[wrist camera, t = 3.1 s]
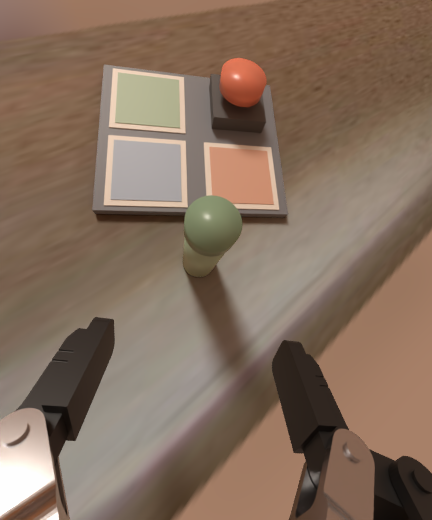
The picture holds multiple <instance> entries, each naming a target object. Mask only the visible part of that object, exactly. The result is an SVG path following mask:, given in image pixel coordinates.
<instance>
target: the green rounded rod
mask: <svg viewBox="0 0 432 520" xmlns="http://www.w3.org/2000/svg"><path fill="white" fill-rule="evenodd" d="M241 231H242V218H241V215H240V213H239V211H238V209H237V208H236V207H235V206H234V204H233V203H231V202H230V201H228V200H227V199H225V198H223V197H220V196H213V195H209V196H204V197H201V198H198V199H197V200H195V201H194V202H193V203H192V204H191V205H190V206H189V207H188V209H187V211H186V214H185V220H184V236H185V240H184V251H183V266H184V269H185V270H186V272H187V273H188V274H190V275H192V276H194V277H204V276H206V275H208V274H209V273H210V272H211V271H212V269H213V268H214V267H215V265H216V264H217V263H218V262H219V260H220V259H221V258H222V256H223V255H224V254H225V252H227V251H228V250H229V249H230V248H231V247H232V246H233V244H234V243H235V242H236V240H237V239H238V238H239V236H240V234H241Z"/></svg>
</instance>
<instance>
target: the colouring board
mask: <svg viewBox="0 0 432 520" xmlns="http://www.w3.org/2000/svg"><path fill="white" fill-rule="evenodd" d="M220 77H221V75H216V74H211V77H210V78H205V77H198V76H190V75H182V74H174V73H166V72H158V71H150V70H142V69H135V68H127V67H119V66H111V65H104V70H103V83H102V96H101V108H100V121H99V133H98V146H97V158H96V171H95V184H94V196H93V209H92V210H93V211H94V213H95V214H134V215H185V214H186V211H187V209H188V207H189V206H190V205H191V204H192V203H193V202H194V201H195V200H197V199H198V198H201V197H204V196H209V195H213V196H220V197H223V198H225V199H227V200H228V201H230V202H231V203H233V204H234V206H235V207H236V208H237V209H238V211H239V213H240V215H241V217H286V216H287V215H288V211H287V204H286V197H285V190H284V183H283V176H282V168H281V161H280V154H279V147H278V140H277V133H276V126H275V119H274V112H273V105H272V98H271V90H270V86H268V85H266V86H265V89H264V91H263V94H262V96H261V99H260V101H259V102H258V103H257V104H255V105H254V106H251V107H239V106H236V105H234V104H232V103H230V102H228V101H227V100H226V99H225V98H224V97H223V95H222V94H221V92H220V89H219V83H220Z"/></svg>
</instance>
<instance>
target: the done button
mask: <svg viewBox="0 0 432 520" xmlns="http://www.w3.org/2000/svg"><path fill="white" fill-rule="evenodd" d="M265 86H266V76H265V74H264V72H263V70H262V69H261V68H260V67H259V66H258V65H257V64H255V63H254V62H252V61H250V60H247V59H243V58H235V59H231V60H229V61H227V62H226V63H225V64H224V65H223V67H222V72H221V77H220V83H219V89H220V92H221V94H222V95H223V97H224V98H225V99H226V100H227V101H228V102H230V103H232V104H234V105H236V106H239V107H251V106H254V105H255V104H257V103H258V102H259V101H260V99H261V96H262V94H263V91H264V89H265Z"/></svg>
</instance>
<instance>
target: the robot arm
mask: <svg viewBox="0 0 432 520" xmlns="http://www.w3.org/2000/svg"><path fill="white" fill-rule="evenodd" d="M114 343H115V338H114V320H113V319H106V318H98V317H95V318H94V319H93V320H92V322H91V323H90V325H89V327H88V328H87V329H81V328H78V329H77V330H76V331H75V332H73V333H72V334H71V335H69V336H68V337H67V338H66V340H65V341H64V342H63V344H62V345H61V347H60V348H59V351H58V352H57V353H56V354H55V356H54V357H53V359H52V362H50V363H49V365H48V366H47V368H46V369H45V371H44V372H43V374H42V375H41V377H40V378H39V380H38V381H37V383H36V384H35V386H34V387H33V389H32V390H31V392H30V393H29V395H28V396H27V397H26V399H25V400H24V402H23V403H22V404H21V406H20V407H19V408H18V409H17V410H16V411H14V412H13V413H11V414H9V415H7V416H6V417H4V418H3V419H2V420H0V520H70V517H69V512H68V506H67V501H66V495H65V490H64V484H63V479H62V473H61V468H60V462H59V457H58V456H59V454H60V452H61V450H62V448H63V445H64V443H65V441H66V440H68V441H76V438H77V436H78V433H79V431H80V429H81V426H82V424H83V422H84V419H85V417H86V415H87V412H88V410H89V408H90V405H91V403H92V400H93V398H94V396H95V393H96V391H97V389H98V386H99V384H100V382H101V379H102V377H103V374H104V372H105V370H106V367H107V365H108V363H109V360H110V358H111V355H112V353H113V349H114ZM272 372H273V376H274V380H275V383H276V387H277V391H278V395H279V398H280V402H281V406H282V410H283V414H284V417H285V421H286V425H287V428H288V433H289V436H290V440H291V444H292V448H293V451H294V453H304V456H305V459H306V462H305V463H304V466H303V470H302V474H301V477H300V481H299V485H298V489H297V493H296V496H295V500H294V504H293V507H292V511H291V515H290V518H289V520H432V473H431V472H430V471H429V470H428V469H427V468H426V467H425V466H423V465H422V464H421V463H420V462H418V461H417V460H415V459H413V458H411V457H408V456H402V457H400V458H399V459H397V460H396V461H394V460H392V459H390V458H387V457H385V456H383V455H381V454H379V453H376V452H374V451H372V450H370V449H369V448H368V447H367V445H366V444H365V443H364V442H363V440H362V439H361V438H360V437H359V436H357V435H356V434H355V433H353V432H352V431H349V429H348V427H347V425H346V423H345V421H344V419H343V417H342V414H341V412H340V410H339V408H338V406H337V404H336V402H335V399H334V397H333V395H332V393H331V391H330V389H329V388H328V384H327V382H326V380H325V379H324V376H323V374H322V372H321V369H320V367H319V365H318V364H317V363H316V361H315V360H314V359H313V358H312V357H311V355H308V354H306V353H305V351H304V348H303V346H302V344H301V343H300V342H295V341H287V340H284V341H283V342H282V343H281V345H280V347H279V349H278V351H277V353H276V355H275V357H274V358H273V362H272Z"/></svg>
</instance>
